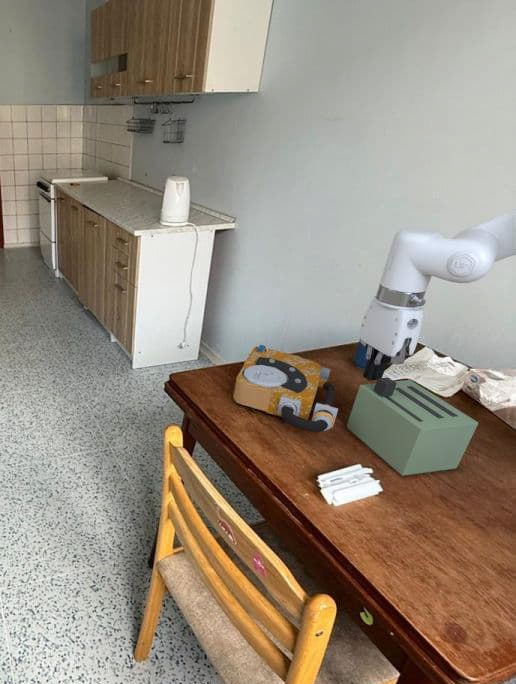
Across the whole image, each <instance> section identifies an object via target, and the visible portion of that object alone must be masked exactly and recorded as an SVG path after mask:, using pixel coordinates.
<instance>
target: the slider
mask: <svg viewBox="0 0 516 684" xmlns="http://www.w3.org/2000/svg"><path fill="white" fill-rule="evenodd" d="M375 384H376V385H375V387H374V391H375V392H376V393H377V394H379V395H380V396H382V397H383V396H392V395H393V392H394V389H395V387H396V384H397V383H396V382H395V381H394V380H393V379H391V378H390V377H388V376H387V377H382V378H378V379H377V380H376V382H375Z"/></svg>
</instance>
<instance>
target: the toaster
mask: <svg viewBox="0 0 516 684" xmlns="http://www.w3.org/2000/svg"><path fill="white" fill-rule="evenodd" d="M394 382H396V383H397V384H396V387H395V389H394V392H393V395H392V396H383V397H382V396H380V395H379V394H377V393H376V392H375V391H374V387H375V385H376V383H368V384H367V383H366V384H360V385H359V386H358V387H359V388H358V390H357V392H356V393H357V394H356V396H355V399H354V403H353V405H352V409H351V412H350V415H349V418H348V421H347V424H346V429H348V430H349V432H351V433H352V434H353V435H354V436H356V437H357V438H358V439H359V440H360V441H362V442H363V443H364V444H365V445H366V446H367V447H368V448H369V449H371V450H372V451H373V452H374V453H375V454H376V455H378V457H380V458H381V459H382V460H384V462H386V464H388V466H390V467H391V468H393V469H394V471H396V472H397V473H398V474H399V475H401V476H410V475H417V474H418V475H419V474H426V473H432V472H433V473H434V472H441V471H447V470H455V469H458V466H459V464H460V462H461V460H462V458H463V456H464V454H465V452H466V450H467V448H468V446H469V444H470V442H471V439H472V437H473V436H474V433H475V432H476V430H477V428H478V426H479V422H478V421H477V420H475V419H474V418H472V417H471V416H469V415H467V414H465V413H464V412H462V411H461V410H459V409H458V408H456V407H454V406H453V405H451V404H450V403H448V402H446V401H445V400H443V399H442V398H440V397H438V396H437V395H435V394H434V393H432V392H431V391H429V390H427V389H426V388H424V387H422V386H421V385H419V384H418V383H416V382H414V381H413V380H411V379H407V380H406V379H405V380H396V381H394Z"/></svg>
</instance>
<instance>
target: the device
mask: <svg viewBox="0 0 516 684" xmlns="http://www.w3.org/2000/svg"><path fill="white" fill-rule="evenodd" d="M330 373H331V368H328V367H325V366H322V365H321V364H319V363H317V362H316V361H314V360H313V359H308V358H305V357H302V356H300V355H295V354H291V353H288V352H283V351H279V350H275V349H271V348H266V345H263V344H259V346H255V347H253V349H252V351H250V354H249V355H248V356H247V358H246V360H245V361H244V363H243V366H242V367H241V369H240V371H239V372H238V374H237V376H236V380H235V385H234V390H233V400H234V401H235V402H236V403H237V404H239V405H243V406H246V407H248V408H249V407H250V408H252V409H255V410H260V411H262V412H265V413H266V414H269V415H274V416H278V417H281V418H282V419H283V420H284V421H285V422H286V423H287V424H288V425H290V426H293V427H294V428H298V429H301V430H304V431H307V432H312V433H321V432H325V431H326V432H327V431H329V430H330V429H332V428H334V425H335V421H336V418H337V415H338V411H339V408H337V407H334V406H333V401H334V398H335V393H336V388H335V386H334V385H333V384H332V383H331V382H329V377H330ZM318 388H319V389H321V390H326V392H325V396H324V398H323V399H324V400H323V403H319V402H316V404H315V405H314V402H315V399H316V395H317V391H318ZM313 405H314V406H315V407H314V409H313V413H312V416H311V420H310V419H309V418H310V414H311V412H312V408H313Z"/></svg>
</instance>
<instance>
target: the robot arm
mask: <svg viewBox="0 0 516 684" xmlns="http://www.w3.org/2000/svg"><path fill="white" fill-rule="evenodd" d="M515 255H516V208H515V209H512V210H510V211H508V212H505V213H503V214H500V215H498V216H495V217H492V218H490V219H488V220H486V221H483V222H481V223H479V224H477V225H476V224H475V225H474V226H472V227H469V228H467V229H464V230H462V231H460V232H459V233H457V234H455V235H454V236H453V237H452V238H449V237H444V235H443V234H442V233H440V232H438V231H436V230H433V229H429V228H428V229H426V228H416V227H410V228H409V227H408V228H403V229H400V230H399V231H397V232H396V233H395V235H394V237H393V239H392V242H391V246H390V248H389V252H388V254H387V259H386V261H385V264H384V268H383V271H382V274H381V278H380V281H379V283H378V287H377V290H376V292H375V293H376V294H375V295H374V296H373V297H372V300H371V301H370V303H369V304H368V307H367V309H366V311H365V313H364V317H363V319H362V322H361V325H360V329H359V332H358V336H359V341H360V342H361V343H362V344H363V345H364V346H365V348H366V351H367V354H366V359H367V360H368V361H367V364H366V367H365V370H363V373H362V378H364V379H366V380H367V381H369V382H370V381H377V379H378V378H383V376H384V373H385V370H386V368H387V365H390V364H393V365H403V364H405V359H406V356H413V354H414V353H415V351H416V347H417V345H418V341H419V338H420V334H421V330H422V326H423V319H424V308H423V306H425V304H426V302H427V301H426V299H424V298H425V295H426V292H427V290H428V287H429V284H430V282H431V279H432V277H434V278H438V279H440V280H444V281H448V282H451V283H456V284H469V283H473V282H476V281H479V280H481V279H482V278H484V277H485V276H487V274H489V272H490V271H491V270H492V268H493V266H494V263H497V262H499V261H501V260H504V259H506V258H507V259H508V258H511V257H512V256H515ZM360 338H361V339H360ZM384 356H385V357H384Z"/></svg>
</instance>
